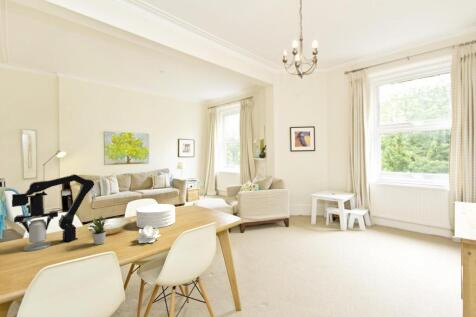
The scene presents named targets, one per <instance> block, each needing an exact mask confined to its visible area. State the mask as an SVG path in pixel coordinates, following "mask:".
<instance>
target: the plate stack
mask: <svg viewBox="0 0 476 317" xmlns="http://www.w3.org/2000/svg"><path fill="white" fill-rule="evenodd" d="M135 211H136V213H135V215H136V216H135V218H136V227H138V228H139V229H144V227H145V226H146V225H148V226H152V227H153V229H155V228H157V229H158V228H165V227H168V226H170V225H173V224H174V223H176V206H175V205H174V204H169V203H165V204H164V203H159V204H149V205H144V206H140V207H138V208H136V209H135Z"/></svg>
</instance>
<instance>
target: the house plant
mask: <svg viewBox="0 0 476 317" xmlns="http://www.w3.org/2000/svg"><path fill="white" fill-rule="evenodd" d="M90 219H91V220H92V222H91V221H90V220H88V223H91V224H90V225H86V226H85V227H86V228H88V231H89V232H91V231H93V232H92V233H91V235H92V239H93V243H94V245H101V244H102V245H103V244H104V243H105V241H106V234H107V231H106V228H105V227H107V226H108V225H110V224H109V223H108V224H107V225H105V224H106V223H107V222H108V220H109V219H110V218H109V219H108V220H106V219H107V217H106V216H104V215H100V216H99V218H98V219H97V218H92V217H90Z"/></svg>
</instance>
